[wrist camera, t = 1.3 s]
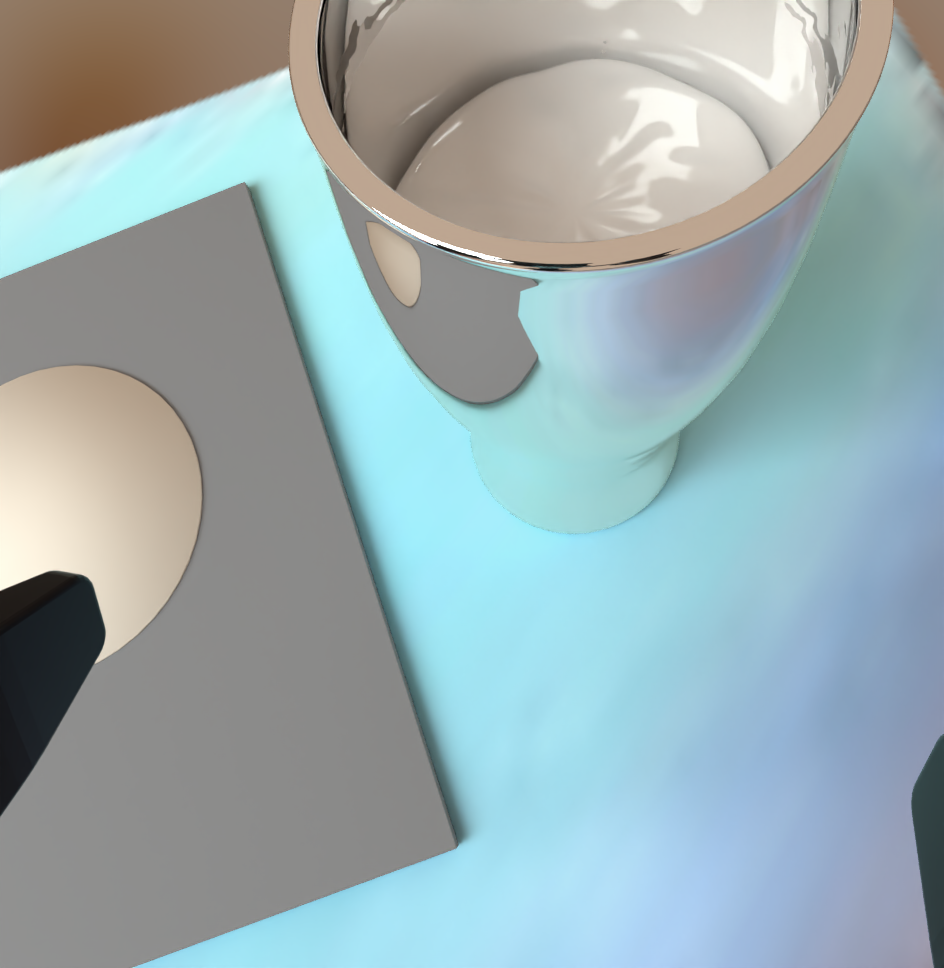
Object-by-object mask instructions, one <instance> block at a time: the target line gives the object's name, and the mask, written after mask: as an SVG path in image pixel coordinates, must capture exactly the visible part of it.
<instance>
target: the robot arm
mask: <svg viewBox="0 0 944 968" xmlns="http://www.w3.org/2000/svg"><path fill="white" fill-rule="evenodd" d="M105 637H106V629H105V625H104V621H103V618H102V614H101V610H100V607H99V603H98V600H97V596H96V593H95V589H94V586H93V584H92V582H91V581H90V580H89V578H88V577H86V576H84V575H81V574H76V573H70V572H64V571H59V570H58V571H55V570H53V571H48V572H45V573H42V574H40V575H37V576H35V577H32V578H30V579H27V580H25V581H22V582H20V583H18V584H15V585H13V586H10V587H8V588H5V589H3V590H0V817H1V815H2V814H3V813H4V811H5V810H6V808H7V807H8V805H9V804H10V803H11V801H12V800H13V798H14V797H15V796H16V794H17V793H18V791H19V790H20V788H21V787H22V785H23V784H24V782H25V781H26V779H27V778H28V776H29V775H30V773H31V772H32V770H33V769H34V767H35V766H36V764H37V762H38V761H39V759H40V757H41V756H42V754H43V753H44V751H45V749H46V748H47V746H48V744H49V742H50V741H51V739H52V737H53V735H54V734H55V732H56V730H57V728H58V727H59V725H60V723H61V721H62V720H63V718H64V716H65V714H66V713H67V711H68V709H69V707H70V706H71V704H72V702H73V700H74V699H75V697H76V695H77V693H78V692H79V690H80V688H81V686H82V685H83V683H84V681H85V679H86V678H87V676H88V674H89V672H90V671H91V669H92V667H93V665H94V664H95V662H96V660H97V658H98V657H99V655H100V653H101V651H102V649H103V646H104V643H105ZM911 808H912V817H913V824H914V831H915V839H916V846H917V853H918V860H919V868H920V875H921V882H922V889H923V897H924V904H925V911H926V918H927V926H928V933H929V940H930V947H931V953H932V959H933V965H934V968H944V734H943V735H942V736H940V738H939V739H938V741H937V742H936V744H935V746H934V748H933V750H932V752H931V754H930V756H929V758H928V760H927V762H926V764H925V766H924V767H923V769H922V771H921V773H920V775H919V777H918V779H917V781H916V783H915V786H914V789H913V793H912V800H911Z"/></svg>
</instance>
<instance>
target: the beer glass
mask: <svg viewBox="0 0 944 968" xmlns="http://www.w3.org/2000/svg"><path fill="white" fill-rule="evenodd" d="M893 13H894V0H294V4H293V7H292V14H291V19H290V26H289V37H288V38H289V39H288V61H289V72H290V80H291V85H292V91H293V95H294V99H295V103H296V107H297V110H298V113H299V116H300V119H301V121H302V124H303V126H304V128H305V131H306V133H307V135H308V137H309V139H310V141H311V143H312V145H313V147H314V148H315V150H316V152H317V154H318V157H319V159H320V162H321V165H322V168H323V171H324V174H325V177H326V180H327V183H328V186H329V189H330V192H331V195H332V198H333V201H334V204H335V207H336V210H337V213H338V216H339V218H340V221H341V224H342V226H343V229H344V232H345V235H346V237H347V240H348V243H349V246H350V248H351V251H352V254H353V256H354V259H355V262H356V265H357V267H358V269H359V271H360V274H361V276H362V278H363V280H364V283H365V285H366V287H367V289H368V292H369V294H370V296H371V298H372V300H373V303H374V305H375V307H376V309H377V312H378V314H379V316H380V318H381V320H382V322H383V324H384V325H385V327H386V329H387V331H388V332H389V334H390V336H391V337H392V339H393V341H394V342H395V344H396V346H397V347H398V349H399V351H400V352H401V354H402V356H403V357H404V359H405V361H406V362H407V364H408V366H409V367H410V369H411V370H412V372H413V373H414V374H415V376H416V377H417V378H418V380H419V381H420V382H421V383H422V385H423V386H424V387H425V388H426V389H427V390H428V391H429V392H430V393H431V394H432V396H433V397H434V398H435V399H436V400H437V401H438V402H439V403H440V404H441V405H442V407H443V408H444V409H445V410H446V411H447V412H448V413H449V414H450V415H451V416H452V417H453V418H454V419H455V420H456V421H457V422H458V423H460V424H461V425H462V426H463V427H464V428H466V429H467V430H468V431H469V432H470V442H471V450H472V455H473V459H474V463H475V466H476V469H477V471H478V474H479V476H480V478H481V480H482V482H483V483H484V485H485V487H486V488H487V490H488V491H489V493H490V494H491V495H492V496H493V498H494V499H495V500H496V501H497V502H498V503H499V504H500V505H501V506H502V507H503V508H504V509H506V510H507V511H508V512H509V513H511V514H512V515H513V516H515V517H516V518H518V519H520V520H522V521H523V522H525V523H527V524H529V525H532V526H534V527H537V528H540V529H543V530H547V531H551V532H556V533H564V534H583V533H591V532H596V531H600V530H604V529H607V528H610V527H613V526H615V525H618V524H620V523H622V522H624V521H626V520H628V519H629V518H631V517H633V516H634V515H636V514H637V513H639V512H640V511H641V510H643V509H644V508H645V507H646V506H647V505H648V504H649V503H651V501H652V500H653V499H654V498H655V497H656V496H657V495H658V493H659V492H660V491H661V489H662V488H663V486H664V485H665V483H666V481H667V480H668V478H669V476H670V474H671V471H672V469H673V466H674V463H675V460H676V456H677V452H678V447H679V434H680V431H681V430H682V429H683V428H685V427H686V426H687V425H688V424H690V423H691V422H692V421H693V420H694V419H696V418H697V417H698V416H699V415H700V414H701V413H702V412H703V411H704V410H705V409H706V408H707V407H708V406H709V405H710V404H711V403H712V402H713V401H714V400H715V399H716V398H717V396H718V395H719V394H720V393H721V392H722V391H723V390H724V389H725V388H726V387H727V386H728V385H729V384H730V383H731V382H732V381H733V379H734V378H735V377H736V376H737V375H738V374H739V372H740V371H741V370H742V368H743V367H744V366H745V364H746V363H747V361H748V360H749V358H750V357H751V355H752V354H753V352H754V351H755V349H756V347H757V346H758V344H759V343H760V341H761V339H762V338H763V336H764V335H765V333H766V332H767V330H768V328H769V327H770V325H771V324H772V322H773V320H774V319H775V317H776V316H777V314H778V312H779V310H780V308H781V307H782V305H783V303H784V301H785V298H786V296H787V294H788V292H789V290H790V288H791V286H792V284H793V282H794V280H795V278H796V276H797V274H798V271H799V269H800V267H801V265H802V263H803V261H804V259H805V257H806V255H807V253H808V250H809V248H810V246H811V243H812V241H813V238H814V236H815V233H816V231H817V228H818V226H819V223H820V221H821V218H822V216H823V213H824V211H825V208H826V205H827V203H828V200H829V198H830V195H831V193H832V190H833V188H834V185H835V182H836V179H837V177H838V174H839V171H840V168H841V166H842V163H843V160H844V157H845V155H846V152H847V149H848V146H849V144H850V141H851V138H852V136H853V133H854V131H855V128H856V126H857V123H858V122H859V120H860V118H861V117H862V115H863V113H864V111H865V110H866V108H867V106H868V104H869V102H870V100H871V98H872V96H873V94H874V91H875V89H876V87H877V84H878V82H879V79H880V77H881V74H882V71H883V68H884V65H885V61H886V57H887V53H888V49H889V44H890V39H891V32H892V25H893Z"/></svg>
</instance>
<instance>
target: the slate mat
mask: <svg viewBox="0 0 944 968" xmlns="http://www.w3.org/2000/svg"><path fill="white" fill-rule="evenodd" d="M53 570H55V571H58V570H59V571H64V572H70V573H76V574H81V575H84V576H86V577H88V578H89V580H90V581H91V582H92V584H93V586H94V589H95V593H96V596H97V600H98V603H99V607H100V610H101V614H102V618H103V621H104V625H105V629H106V637H105V643H104V646H103V649H102V651H101V653H100V655H99V657H98V658H97V660H96V662H95V664H94V665H93V667H92V669H91V671H90V672H89V674H88V676H87V678H86V679H85V681H84V683H83V685H82V686H81V688H80V690H79V692H78V693H77V695H76V697H75V699H74V700H73V702H72V704H71V706H70V707H69V709H68V711H67V713H66V714H65V716H64V718H63V720H62V721H61V723H60V725H59V727H58V728H57V730H56V732H55V734H54V735H53V737H52V739H51V741H50V742H49V744H48V746H47V748H46V749H45V751H44V753H43V754H42V756H41V757H40V759H39V761H38V762H37V764H36V766H35V767H34V769H33V770H32V772H31V773H30V775H29V776H28V778H27V779H26V781H25V782H24V784H23V785H22V787H21V788H20V790H19V791H18V793H17V794H16V796H15V797H14V798H13V800H12V801H11V803H10V804H9V805H8V807H7V808H6V810H5V811H4V813H3V814H2V815H1V817H0V968H132V967H135V966H138V965H140V964H143V963H146V962H148V961H151V960H154V959H157V958H159V957H162V956H165V955H167V954H170V953H173V952H176V951H178V950H181V949H184V948H187V947H189V946H192V945H195V944H197V943H200V942H203V941H206V940H208V939H211V938H214V937H216V936H219V935H222V934H225V933H227V932H230V931H233V930H236V929H238V928H241V927H244V926H246V925H249V924H252V923H255V922H257V921H260V920H263V919H265V918H268V917H271V916H274V915H276V914H279V913H282V912H285V911H287V910H290V909H293V908H295V907H298V906H301V905H304V904H306V903H309V902H312V901H314V900H317V899H320V898H323V897H325V896H328V895H331V894H333V893H336V892H339V891H342V890H344V889H347V888H350V887H353V886H355V885H358V884H361V883H363V882H366V881H369V880H372V879H374V878H377V877H380V876H382V875H385V874H388V873H391V872H393V871H396V870H399V869H402V868H404V867H407V866H410V865H412V864H415V863H418V862H421V861H423V860H426V859H429V858H431V857H434V856H437V855H440V854H442V853H445V852H448V851H451V850H453V849H456V848H457V847H458V842H457V839H456V835H455V832H454V829H453V826H452V823H451V820H450V817H449V814H448V810H447V807H446V804H445V801H444V798H443V795H442V792H441V788H440V785H439V782H438V779H437V776H436V773H435V770H434V766H433V763H432V760H431V757H430V754H429V751H428V748H427V745H426V741H425V738H424V735H423V732H422V729H421V726H420V723H419V719H418V716H417V713H416V710H415V707H414V704H413V701H412V698H411V694H410V691H409V688H408V685H407V682H406V679H405V676H404V672H403V669H402V666H401V663H400V660H399V657H398V654H397V651H396V647H395V644H394V641H393V638H392V635H391V632H390V629H389V625H388V622H387V619H386V616H385V613H384V610H383V607H382V603H381V600H380V597H379V594H378V591H377V588H376V585H375V582H374V578H373V575H372V572H371V569H370V566H369V563H368V560H367V556H366V553H365V550H364V547H363V544H362V541H361V538H360V535H359V531H358V528H357V525H356V522H355V519H354V516H353V513H352V509H351V506H350V503H349V500H348V497H347V494H346V491H345V487H344V484H343V481H342V478H341V475H340V472H339V469H338V466H337V462H336V459H335V456H334V453H333V450H332V447H331V444H330V440H329V437H328V434H327V431H326V428H325V425H324V422H323V419H322V415H321V412H320V409H319V406H318V403H317V400H316V397H315V393H314V390H313V387H312V384H311V381H310V378H309V375H308V371H307V368H306V365H305V362H304V359H303V356H302V353H301V350H300V346H299V343H298V340H297V337H296V334H295V331H294V328H293V324H292V321H291V318H290V315H289V312H288V309H287V306H286V303H285V299H284V296H283V293H282V290H281V287H280V284H279V281H278V277H277V274H276V271H275V268H274V265H273V262H272V259H271V256H270V252H269V249H268V246H267V243H266V240H265V237H264V234H263V230H262V227H261V224H260V221H259V218H258V215H257V212H256V208H255V205H254V202H253V199H252V196H251V193H250V190H249V188H248V186H247V185H246V183H245V182H243V183H241V184H238V185H236V186H233V187H231V188H228V189H226V190H223V191H221V192H218V193H216V194H213V195H211V196H208V197H206V198H203V199H201V200H198V201H196V202H193V203H190V204H188V205H185V206H183V207H180V208H178V209H175V210H173V211H170V212H168V213H165V214H163V215H160V216H158V217H155V218H153V219H150V220H148V221H145V222H143V223H140V224H138V225H135V226H133V227H130V228H127V229H125V230H122V231H120V232H117V233H115V234H112V235H110V236H107V237H105V238H102V239H100V240H97V241H95V242H92V243H90V244H87V245H85V246H82V247H80V248H77V249H75V250H72V251H69V252H67V253H64V254H62V255H59V256H57V257H54V258H52V259H49V260H47V261H44V262H42V263H39V264H37V265H34V266H32V267H29V268H27V269H24V270H22V271H19V272H17V273H14V274H12V275H9V276H6V277H4V278H1V279H0V590H3V589H5V588H8V587H10V586H13V585H15V584H18V583H20V582H22V581H25V580H27V579H30V578H32V577H35V576H37V575H40V574H42V573H45V572H48V571H53Z"/></svg>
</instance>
